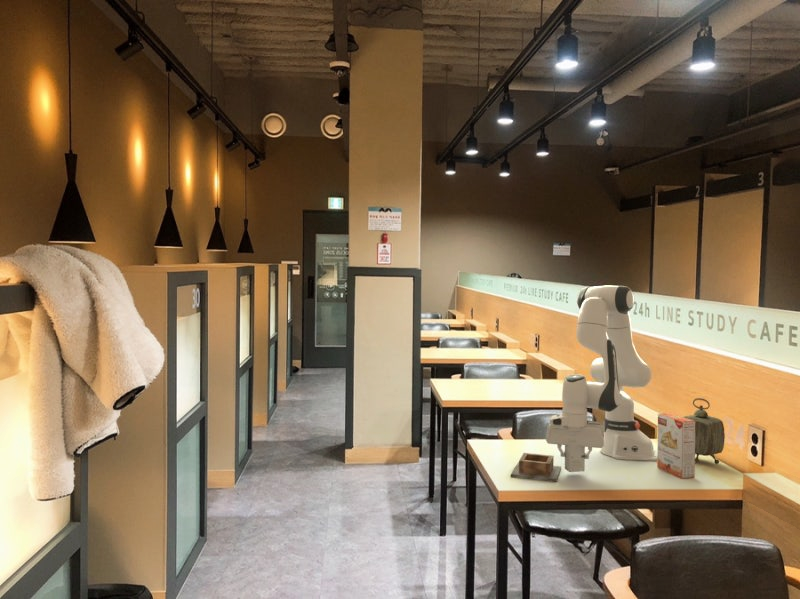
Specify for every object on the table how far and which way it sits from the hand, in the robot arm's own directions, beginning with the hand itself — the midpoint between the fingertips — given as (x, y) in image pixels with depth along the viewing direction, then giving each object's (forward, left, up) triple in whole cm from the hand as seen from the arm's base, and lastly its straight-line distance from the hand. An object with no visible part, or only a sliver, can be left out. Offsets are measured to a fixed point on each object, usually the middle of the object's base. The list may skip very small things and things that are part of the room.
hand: (574, 457), depth 223 cm
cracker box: (-35, -17, -7) cm, 39 cm away
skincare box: (0, 0, -5) cm, 5 cm away
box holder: (+13, +2, -7) cm, 15 cm away
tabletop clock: (-45, -36, -7) cm, 58 cm away
